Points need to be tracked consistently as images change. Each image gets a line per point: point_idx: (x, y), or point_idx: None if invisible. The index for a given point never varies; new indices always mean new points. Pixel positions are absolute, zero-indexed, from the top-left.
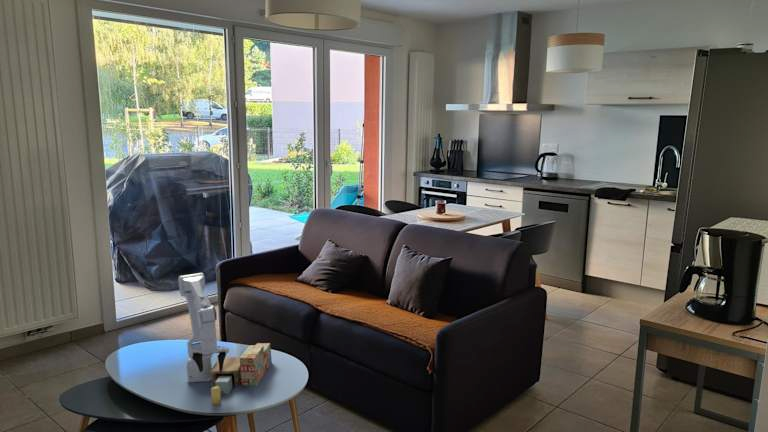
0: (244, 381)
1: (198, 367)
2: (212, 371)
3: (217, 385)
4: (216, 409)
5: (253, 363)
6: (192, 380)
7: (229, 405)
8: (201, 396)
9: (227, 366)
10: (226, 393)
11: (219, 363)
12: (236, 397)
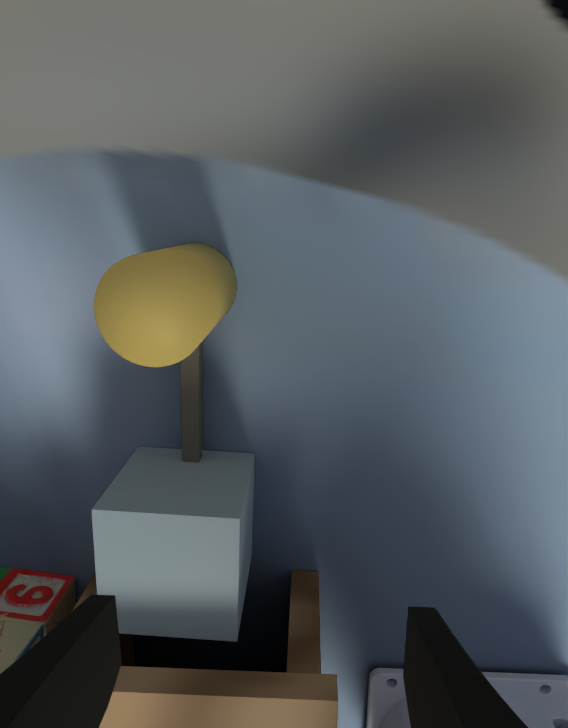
0: (28, 598)
1: (474, 667)
2: (307, 700)
3: (221, 495)
4: (157, 154)
5: None
6: (531, 687)
7: (54, 226)
8: (380, 422)
9: None
10: (157, 449)
11: (14, 704)
12: (42, 373)
